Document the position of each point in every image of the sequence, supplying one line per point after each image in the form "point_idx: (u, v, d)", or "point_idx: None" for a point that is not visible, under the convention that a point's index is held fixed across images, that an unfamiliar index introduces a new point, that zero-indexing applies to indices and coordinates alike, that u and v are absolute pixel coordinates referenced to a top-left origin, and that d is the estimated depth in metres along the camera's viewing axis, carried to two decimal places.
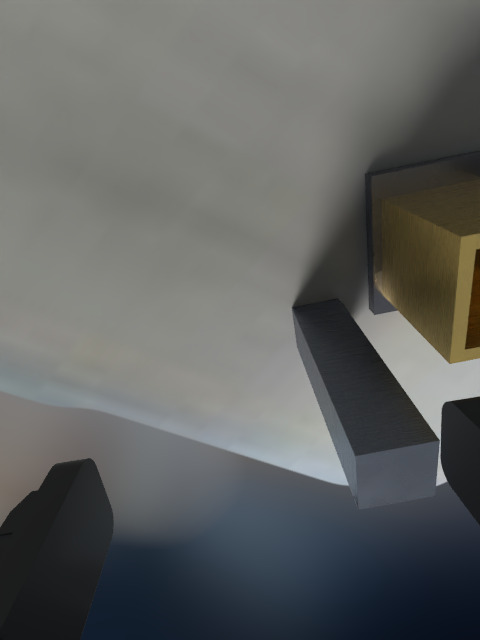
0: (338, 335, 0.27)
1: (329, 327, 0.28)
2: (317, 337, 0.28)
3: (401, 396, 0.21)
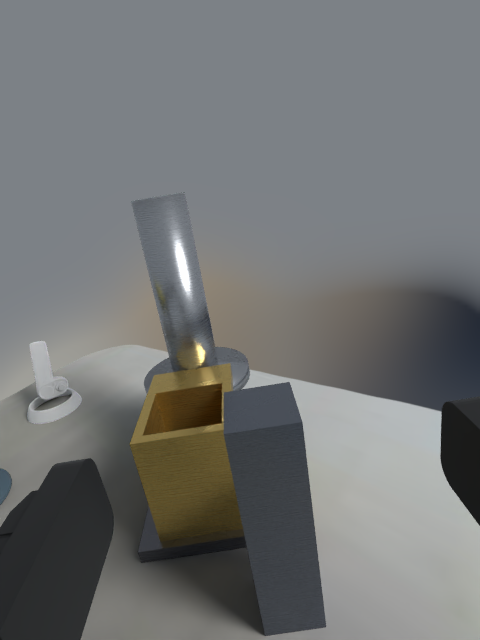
0: None
1: None
2: None
3: None
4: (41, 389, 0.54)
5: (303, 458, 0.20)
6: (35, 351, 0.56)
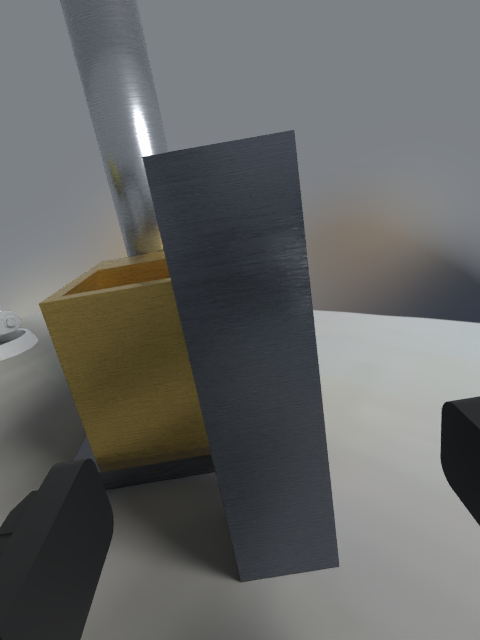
0: None
1: None
2: None
3: None
4: None
5: (297, 219, 0.11)
6: None
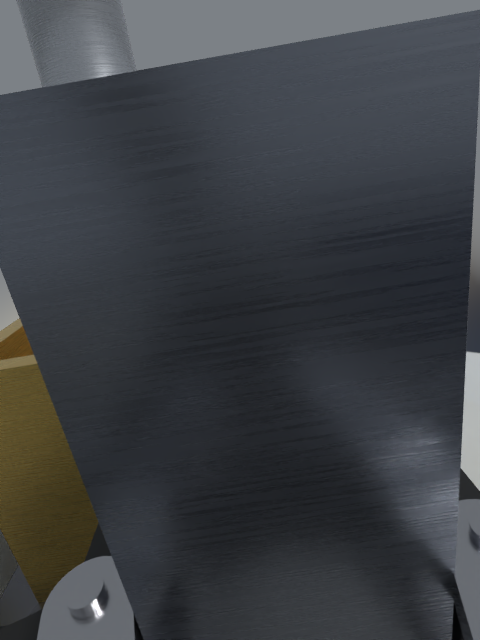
0: None
1: None
2: None
3: None
4: None
5: (452, 307, 0.04)
6: None
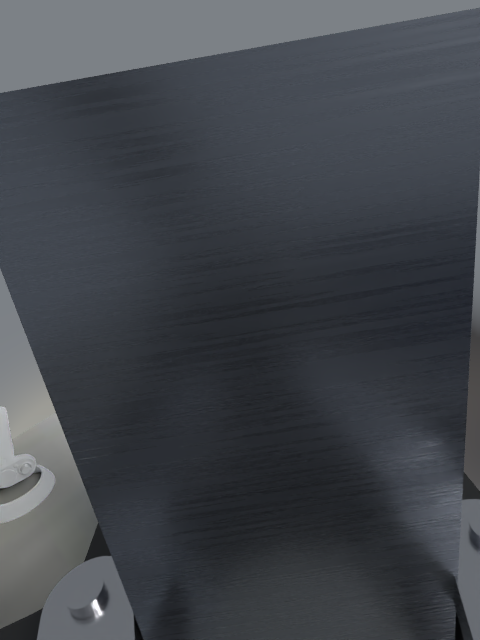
0: None
1: None
2: None
3: None
4: None
5: (456, 308, 0.03)
6: None
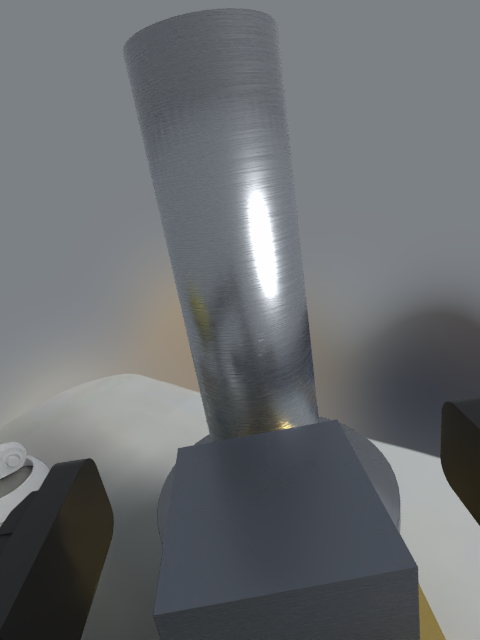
0: None
1: None
2: None
3: None
4: None
5: None
6: None
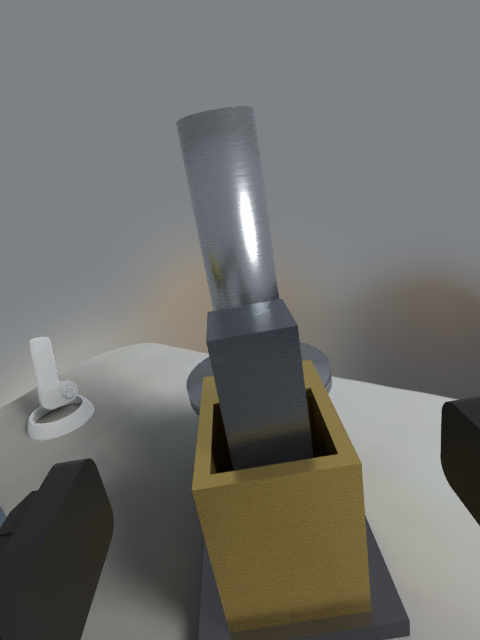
0: None
1: None
2: None
3: None
4: (45, 397, 0.44)
5: (299, 371, 0.17)
6: (37, 349, 0.45)
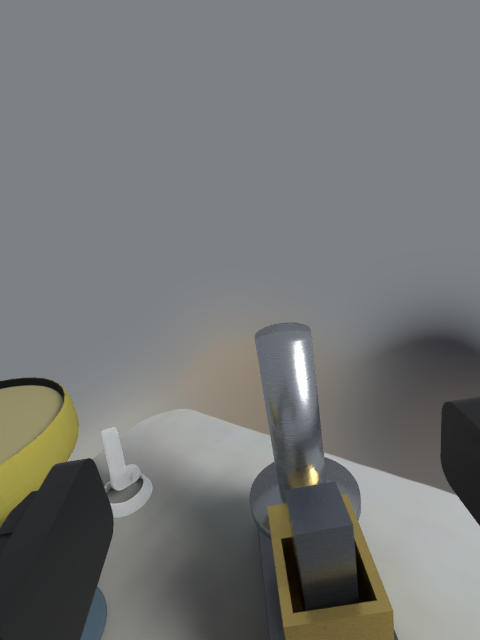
0: (303, 603, 0.32)
1: None
2: None
3: (290, 525, 0.30)
4: (116, 481, 0.53)
5: (352, 549, 0.27)
6: (107, 439, 0.54)
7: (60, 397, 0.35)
